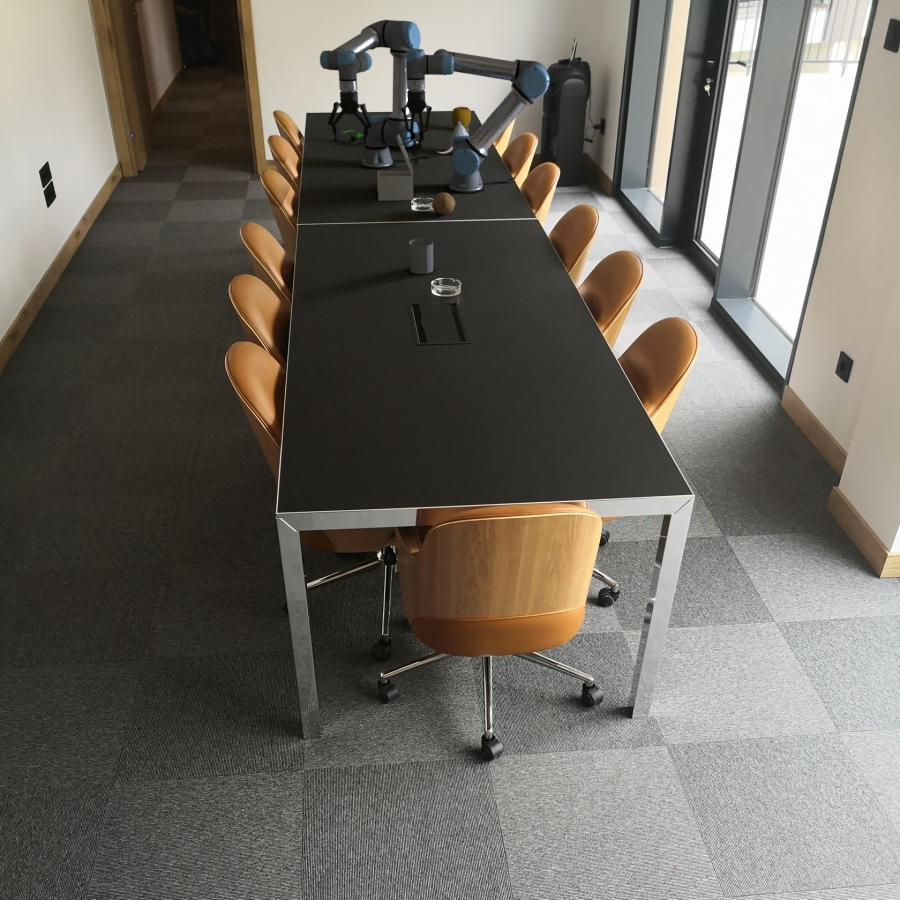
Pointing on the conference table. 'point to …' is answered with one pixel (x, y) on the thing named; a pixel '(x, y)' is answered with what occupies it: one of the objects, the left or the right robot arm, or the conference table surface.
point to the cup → (421, 256)
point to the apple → (461, 116)
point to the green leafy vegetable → (354, 137)
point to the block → (375, 185)
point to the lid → (405, 150)
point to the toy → (457, 131)
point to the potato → (443, 203)
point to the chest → (395, 185)
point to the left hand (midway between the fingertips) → (351, 142)
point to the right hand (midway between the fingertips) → (417, 148)
